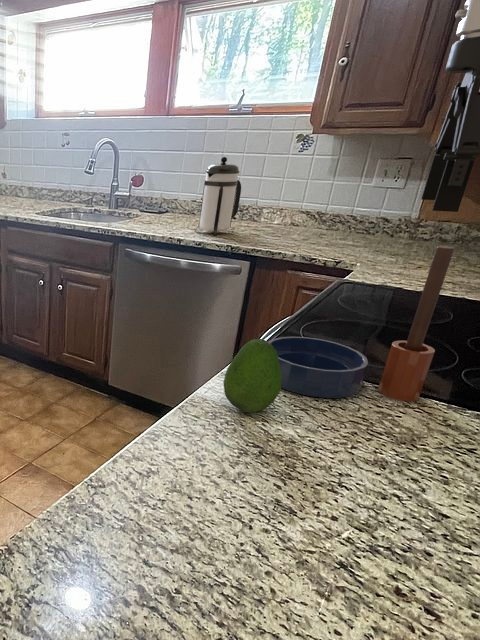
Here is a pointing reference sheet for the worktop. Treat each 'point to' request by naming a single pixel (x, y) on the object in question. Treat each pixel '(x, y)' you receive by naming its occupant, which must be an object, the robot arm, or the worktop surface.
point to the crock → (405, 372)
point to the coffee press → (220, 197)
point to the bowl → (319, 367)
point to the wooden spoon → (429, 297)
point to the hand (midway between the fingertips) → (437, 205)
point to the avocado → (253, 377)
